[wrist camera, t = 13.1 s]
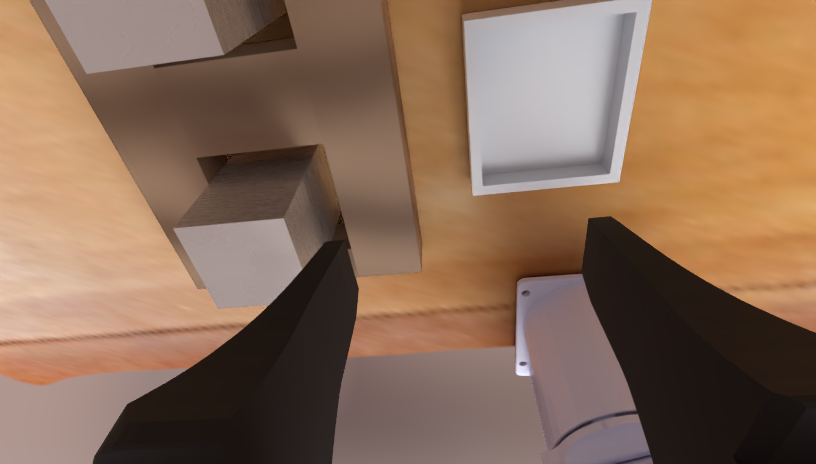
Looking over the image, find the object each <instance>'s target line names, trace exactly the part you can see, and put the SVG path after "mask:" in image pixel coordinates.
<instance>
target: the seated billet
mask: <svg viewBox="0 0 816 464" xmlns="http://www.w3.org/2000/svg"><path fill="white" fill-rule="evenodd" d="M340 212H341V211H340V207H339V204H338V200H337V196H336V193H335V189H334V185H333V181H332V178H331V174H330V170H329V167H328V163H327V159H326V156H325V152H324V148H323V144H316V145H307V146H298V147H289V148H280V149H271V150H262V151H253V152H244V153H235V154H233V155H232V157H231V158H230V159H229V160H228V161H227V163H226V164H225V165H224V166H223V168H222V169H221V170H220V171H219V172H218V174H217V175H216V176H215V177H214V179H213V180H212V181H211V182H210V184H209V185H208V186H207V187H206V188H205V190H204V191H203V192H202V193H201V195H200V196H199V197H198V198H197V199H196V201H195V202H194V203H193V204H192V206H191V207H190V208H189V209H188V211H187V212H186V213H185V214H184V215H183V217H182V218H181V219H180V220H179V222H178V223H177V224H176V225H175V226H174V228H173V230H174V231H175V233H176V235H177V237H178V238H179V240H180V242H181V244H182V246H183V247H184V249H185V251H186V253H187V254H188V256H189V258H190V260H191V261H192V263H193V265H194V267H195V269H196V270H197V272H198V274H199V276H200V277H201V279H202V281H203V283H204V285H205V286H206V288H207V290H208V292H209V293H210V295H211V297H212V299H213V300H214V302H215V304H216V306H217V308H218V309H219V308H234V307H248V306H262V305H270V304H271V303H272V302H273V301H274V300H275V299H276V298H277V297H278V295H279V294H280V293H281V292H282V291H283V290H284V289H285V288H286V287H287V286H288V285H289V284H290V283H291V282H292V280H293V279H294V278H295V277H296V276H297V275H298V274H299V272H300V271H301V270H302V269H303V268H304V267H305V265H306V264H307V263H308V262H309V261H310V259H311V258H312V257H313V256H314V255H315V253H316V252H317V251H318V250H319V249H320V248H321V246H322V245H323V244H324V243H325V242H326V241H332V240H333V236H334V233H335V230H336V226H337V223H338V219H339V216H340Z"/></svg>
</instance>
